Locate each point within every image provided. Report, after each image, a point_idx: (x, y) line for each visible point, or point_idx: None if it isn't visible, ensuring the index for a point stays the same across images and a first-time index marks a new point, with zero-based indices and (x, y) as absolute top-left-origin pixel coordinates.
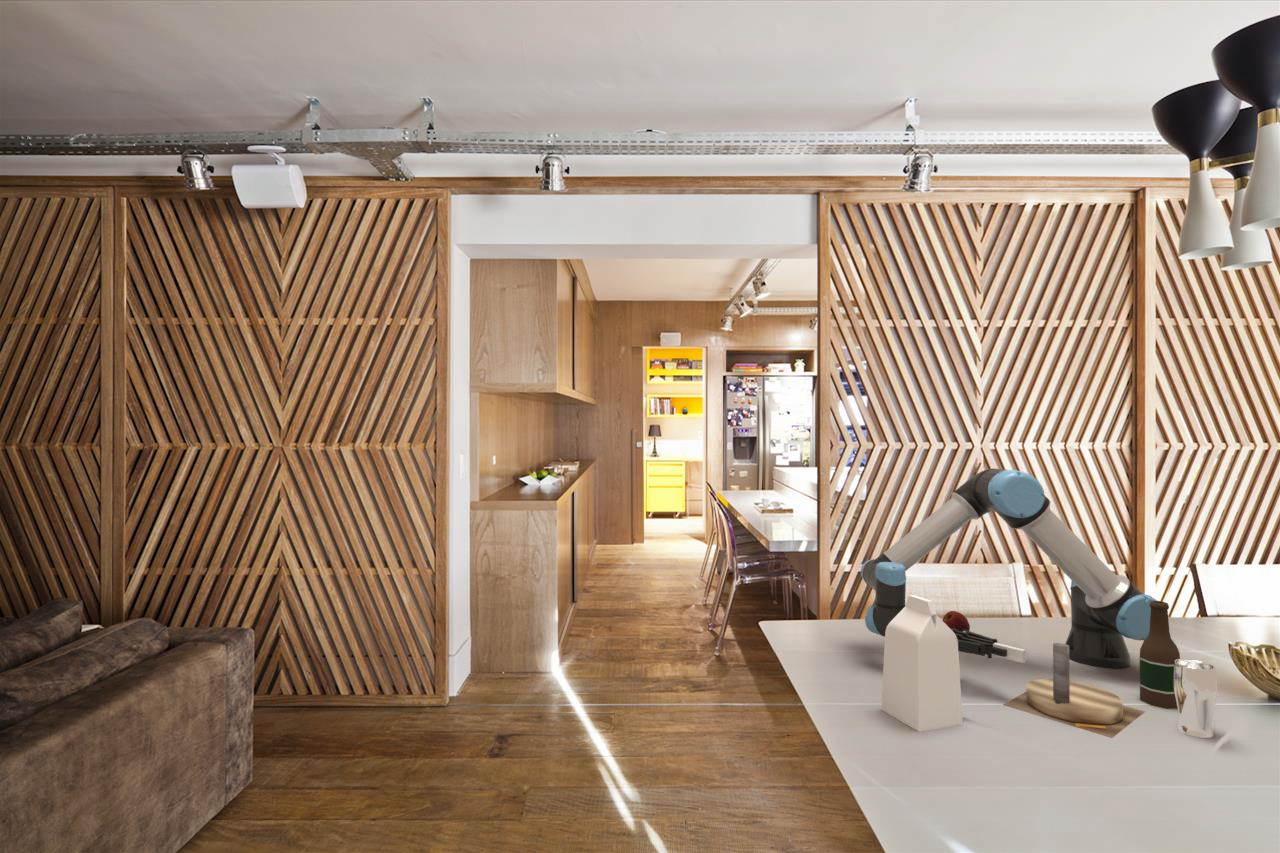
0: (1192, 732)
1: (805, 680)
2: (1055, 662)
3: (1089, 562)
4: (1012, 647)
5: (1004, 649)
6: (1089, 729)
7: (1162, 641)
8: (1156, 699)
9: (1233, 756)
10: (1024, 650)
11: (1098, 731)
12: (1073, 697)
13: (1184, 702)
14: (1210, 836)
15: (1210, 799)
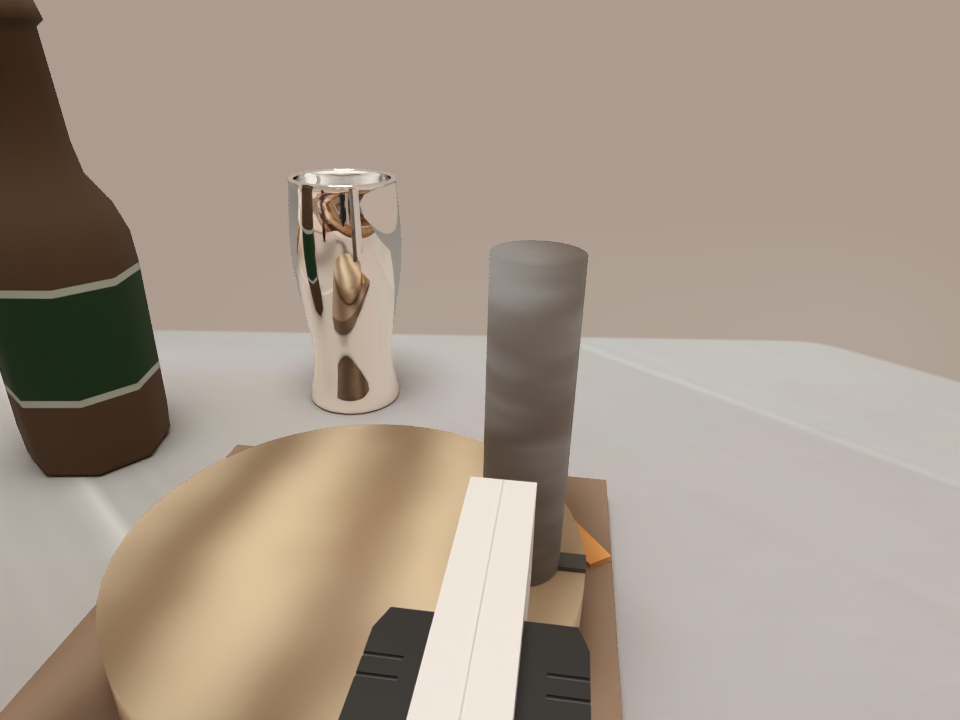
0: (393, 372)
1: None
2: (574, 372)
3: None
4: (485, 555)
5: (527, 644)
6: (591, 529)
7: (85, 179)
8: (152, 407)
9: (437, 359)
10: (494, 480)
11: (585, 508)
12: (421, 531)
13: (390, 300)
14: (910, 375)
15: (738, 376)
